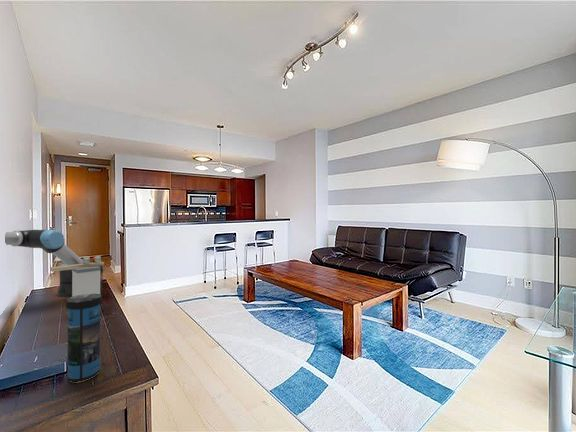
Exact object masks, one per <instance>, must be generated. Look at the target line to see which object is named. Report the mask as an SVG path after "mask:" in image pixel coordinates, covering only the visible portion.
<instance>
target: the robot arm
mask: <svg viewBox="0 0 576 432" xmlns="http://www.w3.org/2000/svg"><path fill="white" fill-rule="evenodd" d="M5 232H6V234H5V243H6V245H5V246H9V245H10V246H12V247H23V248H32V249H41V250H43V251H44V252H45V253H47V254H52V255H53V256H55V257H56V258H57V259H59V260H60V261H61V262H62V264H61V265H60V266H66V265H76V264H83V258H81V257H80V256H78V255H77V253H75V252H74V251H73V250H72V249H71V248H70V247H69V246H67V245H66V243H65V242H66V240H65V235H64V234H63V233H62V232H61V231H59V230H56V229H55V230H54V229H27V230H13V231H5ZM58 272H59V285H58V289H56V290H57V291H56V296H57V297H69V296H70V297H72V269H71V270H62V271H58Z"/></svg>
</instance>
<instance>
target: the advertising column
mask: <svg viewBox="0 0 576 432" xmlns="http://www.w3.org/2000/svg"><path fill="white" fill-rule="evenodd" d="M102 303H103V296H102V295H101V294H83V295H77V296H74V297H72V296H70V297H68V298H67V299H66V300H65V308H66V309H67V381H68V380H69V381H72V382H78V381H83V380H86V379H89V378H91V377H93V376H95V375H96V374H97V373H98V372H99V371H100V372H101V304H102ZM100 372H99V373H100Z"/></svg>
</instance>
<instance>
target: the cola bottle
mask: <svg viewBox="0 0 576 432" xmlns="http://www.w3.org/2000/svg"><path fill="white" fill-rule="evenodd" d="M94 257H95V256H93V257H92V263H94ZM99 267H101V270H100V294H101V295H102V297H103V296H104V292H103V283H104V268H103V266H99Z"/></svg>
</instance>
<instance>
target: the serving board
mask: <svg viewBox="0 0 576 432" xmlns="http://www.w3.org/2000/svg"><path fill="white" fill-rule="evenodd" d="M93 257H94V263H93V262H91V260H90V259H91V258H90V256H83V257H82V260H83V264H76V265H66V266H61V265H59V266H57V265H56V266H50V268H49V269H50V272H52V273H53V272H59V271H62V270H71V269H79V268H88V267H97V266H102V267H104V266H105V262H103V261H102V255H95V256H93Z"/></svg>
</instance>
